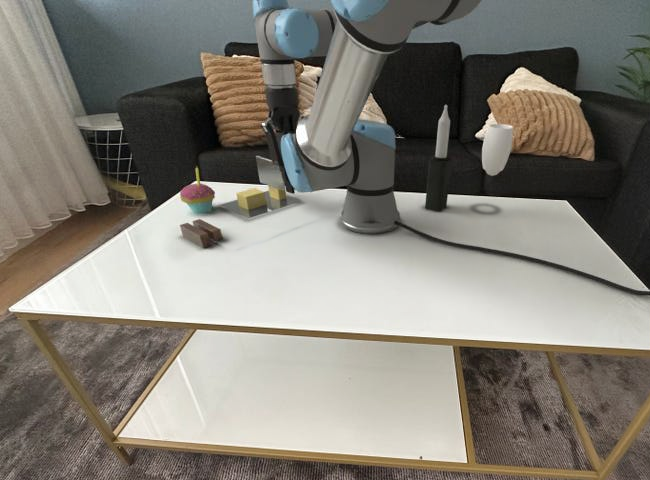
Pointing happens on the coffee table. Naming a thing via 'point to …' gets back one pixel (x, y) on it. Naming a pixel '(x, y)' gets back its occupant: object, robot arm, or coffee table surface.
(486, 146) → the cup
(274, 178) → the cleaver
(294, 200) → the plate
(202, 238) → the chocolate bar
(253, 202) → the butter
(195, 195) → the cupcake
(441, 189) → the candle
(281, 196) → the butter pat
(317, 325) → the coffee table surface
